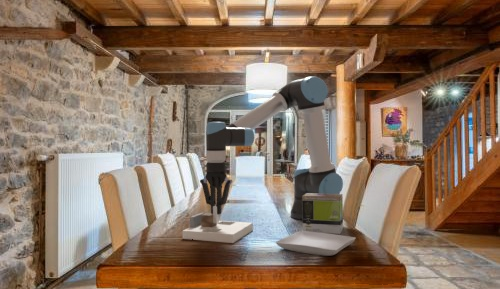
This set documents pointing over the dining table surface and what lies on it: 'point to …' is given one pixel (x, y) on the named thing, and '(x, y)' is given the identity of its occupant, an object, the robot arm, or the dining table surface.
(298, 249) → the salad plate
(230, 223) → the platform
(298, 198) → the robot arm
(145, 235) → the dining table surface
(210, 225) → the walnut block
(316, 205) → the tea box
